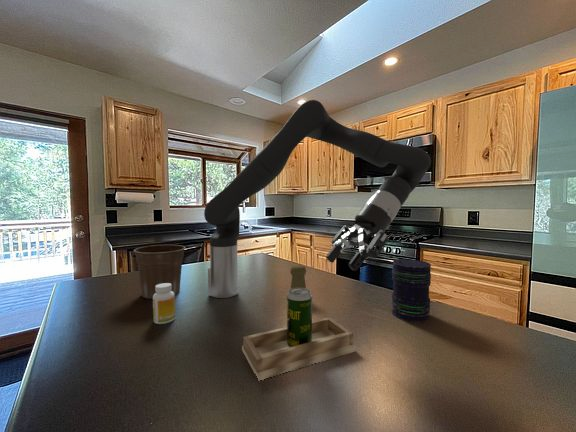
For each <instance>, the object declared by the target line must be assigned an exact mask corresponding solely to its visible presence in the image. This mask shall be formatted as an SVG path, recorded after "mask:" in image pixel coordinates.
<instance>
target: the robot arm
mask: <svg viewBox="0 0 576 432" xmlns="http://www.w3.org/2000/svg"><path fill="white" fill-rule="evenodd" d="M306 137H308V138H310V139H312V140H313V139H314V140H317V141H320V142H324V143H327V144H330V145H332V146H333V145H334V146H336V147H337V148H340V149H342V150H344V151H346V152H349V153H350V154H352V155H354V156H356V157H358V158H359V159H362V160H364V161H366V162H368V163H370V164H372V165H374V166H376V167H379V168H385V167H386V166H387V165H388V164H393V165H397V166H396V168H395V170H394V172H393V174H392V175H391V176H390V177H388V178H387V179H385V180H384V181H383V183H382V184H381V185H380V186H379V187H378V189H377V190H376V191H375V193H374V194H372V196H371V197H369V199H367V201H366V202H365V204H364V205H363V207H361V208H360V210H359V212H358V213H357V214H356V215H355V218H354V225H353V226H351V227H348V226H347V225H343V226H342V227H341V228H340V230H339V231H337V233H336V234H335V236H334V237H333V238H332V239H331V241H330V243H332V245H333V246H332V247H331V249H330V250H329V251H328V253H327V254H326V256H325V258H326V260H327V261H328V262H329V263H332V264H333V263H334V262H335V260H336V259H337V258H338V257H339V255H340V254H341V252H342V251H344V250H346V249H351V248H352V247H358V251H356V253H355V254H354V256H353V257H352V258H351V260H350V261H348V262H349V263H348V264H347V265H348V267H349V268H350V270H352V271H354V272H357V271H358V269H360V268H361V267H362V264H363V263H364V262H365V261H366V260H368V259H369V258H373V259H375V258H377V257H378V256H379V254H380V253H381V251H382V249H383V248H384V246H385V245H386V244H387V242H388V241H389V237H388V235H387V234H386V233H385V232H386V230H387V229H388V227H389V226H390V225H391V223H392V222H393V220H394V219H395V217H396V216H397V214H398V213H399V210H400V209H401V208H402V207H403V205H404V203H405V202H406V201H407V200H408V198H409V196H410V194H411V193H412V192H413V191H414V189H416V187H418V185H419V184H420V182H421V181H422V180H423V178H424V176H425V175H426V173H427V171H428V169H429V168H430V167H431V163H432V160H431V156H430V155H429V153H428V152H427V151H425V150H424V149H422V148H420V147H417V146H414V145H408V144H402V143H397V142H396V143H395V142H391V141H389V140H386V139H384V138H382V137H379V136H377V135H376V134H373V133H370V132H367V131H363V130H359V129H354V128H350V127H349V126H348V127H347V126H345V125H344V124H341V123H339V122H338V121H336V120H335V119H333V118H332V117H331V116H329V113H328V111H327V110H326V108H325V107H324V105H323V104H322V103H321V102H320V101H319V100H316V99H309V100H306V101H305V102H302V104H300V105H299V106H298V107H297V109H296V110H294V112H293V113H292V114H291V116H290V117H289V118H288V119H287V121H286V122H285V124H284V125H283V126H282V128H280V130H279V131H278V132H277V133H276V134H275V135H274V136H273V137H272V139H270V141H268V143H267V144H266V145H265V146H264V147H263V148H262V149H261V150H260V151H259V152H258V153H257V154H256V155H255V156H254V157H253V158H252V159H251V160H250V161H249V163H247V165H246V166H245V167H244V168H243V169H242V170H241V171H240V172H239V173H238V174H237V175H236V176H235V178H233V180H232V181H231V182H230V183H229V184H228V185H226V187H225V188H224V189H222V190H221V191H220V192H219V193H218V194H217V195H215V196H214V197H212V199H211V200H209V201H208V202H207V204H206V206H205V207H204V210H203V211H204V214H203V216H204V220H205V221H206V222H207V223H208V224H209V225H210V226H215V230H214V232H213V234H212V235H211V236H210V238H209V263H210V264H209V265H210V266H209V267H208V268H207V284H208V285H207V288H208V289H207V294H208V296H209V297H213V298H215V299H216V298H217V299H227V298H231V297H235V296H236V295H238V293H239V292H238V291H239V283H238V282H239V281H238V278H239V277H238V276H239V275H238V272H239V271H238V270H239V269H238V266H239V265H238V239H239V236H240V226H241V222H240V221H241V220H240V219H241V214H240V207H239V206H240V205H241V204H242V203H243V202H245V201H246V200H247V199H249V198H250V197H252V196H254V195H256V194H257V193H259V192H260V191H263V190H264V189H265V188H266V187H267V186H269V185H270V184H271V183H273V181H274V180H275V179H276V178H277V177H278V176H279V175H280V174H281V173H282V172H283V170H284V168H285V166H286V164H287V162H288V161H289V158H290V156H291V155H292V153H293V151H294V150H295V149H296V147H297V146H298V145H300V144H301V142H302V141H303V140H304V139H305V138H306Z"/></svg>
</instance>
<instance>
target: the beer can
mask: <svg viewBox="0 0 576 432" xmlns="http://www.w3.org/2000/svg"><path fill="white" fill-rule="evenodd" d="M312 321H313V295H312V291H311V290H310V289H309V288H307V287H306V288H293V289H290V288H289V289H288V291H287V295H286V327H287V345H288V347H289V348H290V347H293V346H297V345H301V344H305V343H308V342H312Z"/></svg>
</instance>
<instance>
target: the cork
mask: <svg viewBox="0 0 576 432" xmlns="http://www.w3.org/2000/svg"><path fill="white" fill-rule="evenodd" d="M289 270H290V275H291V283H290V288H289V290H290V289H293V288H306V289H307V285H306V279H305V276H306V274H307V269H306V267H305V266H304V265H301V264H295V265H292V266H291V267H290V269H289Z"/></svg>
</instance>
